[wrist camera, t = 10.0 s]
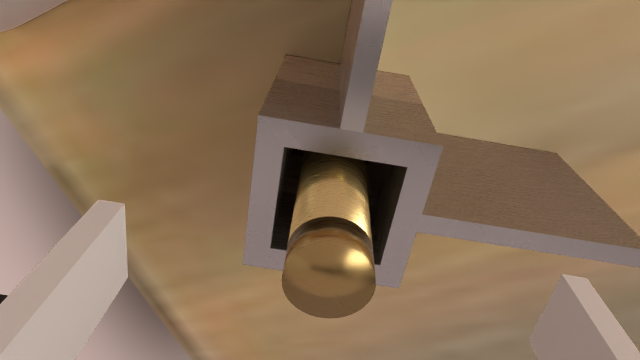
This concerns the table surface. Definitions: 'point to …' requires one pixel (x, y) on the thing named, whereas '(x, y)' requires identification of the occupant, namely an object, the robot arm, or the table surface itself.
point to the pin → (330, 238)
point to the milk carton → (23, 11)
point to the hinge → (413, 167)
